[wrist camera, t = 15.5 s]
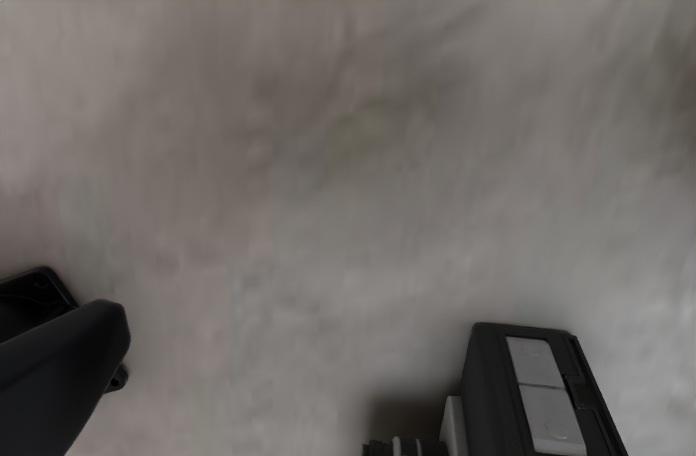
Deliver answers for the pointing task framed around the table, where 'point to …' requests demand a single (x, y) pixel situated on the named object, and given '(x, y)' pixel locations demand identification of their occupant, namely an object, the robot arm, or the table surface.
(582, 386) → the camera
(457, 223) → the table surface
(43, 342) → the robot arm
